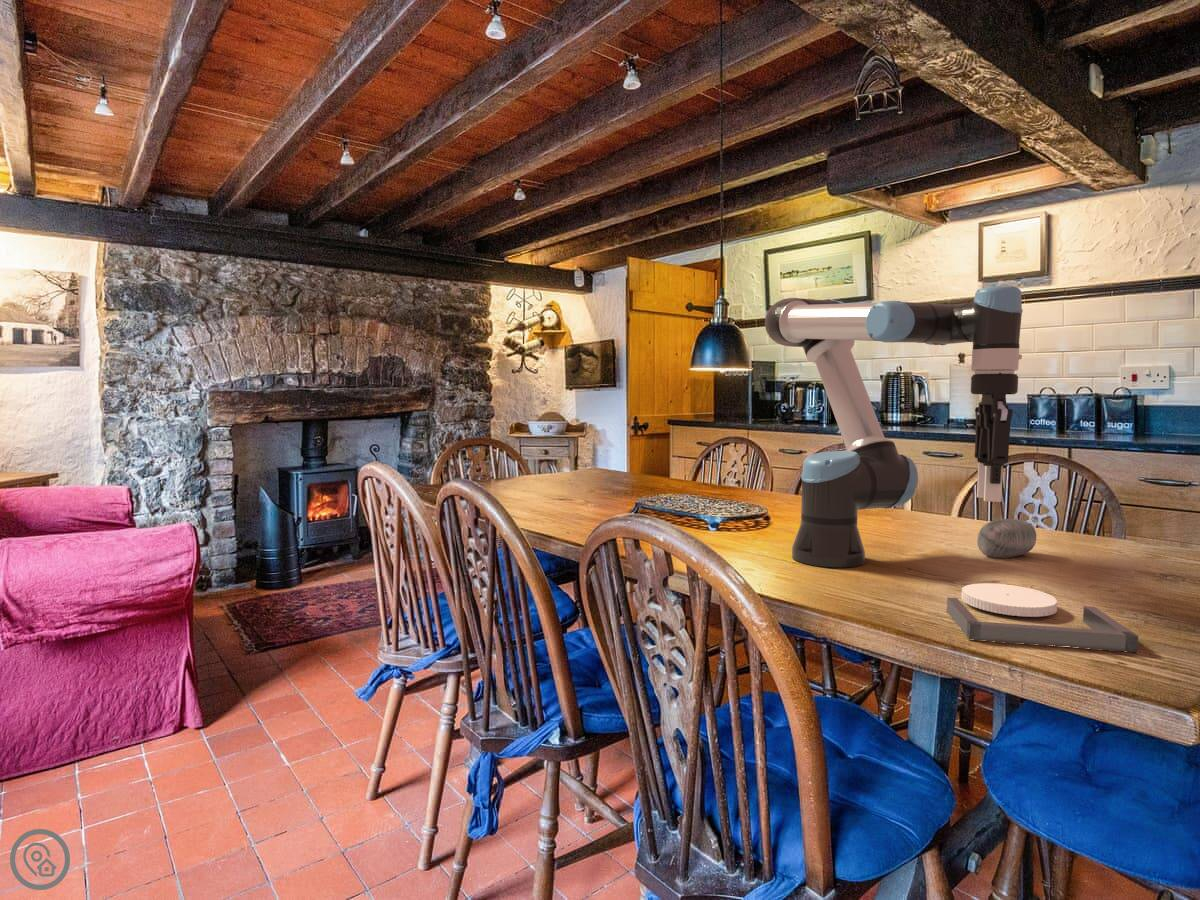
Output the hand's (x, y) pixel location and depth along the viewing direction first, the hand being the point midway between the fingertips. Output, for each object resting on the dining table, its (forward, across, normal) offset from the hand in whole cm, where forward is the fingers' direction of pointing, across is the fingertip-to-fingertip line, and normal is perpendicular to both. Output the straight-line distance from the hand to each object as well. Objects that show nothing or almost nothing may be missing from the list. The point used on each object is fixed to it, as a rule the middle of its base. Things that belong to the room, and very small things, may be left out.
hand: (988, 499), depth 129 cm
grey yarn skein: (+17, +28, -12) cm, 35 cm away
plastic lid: (+17, -13, 0) cm, 22 cm away
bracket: (+17, -25, 0) cm, 30 cm away
